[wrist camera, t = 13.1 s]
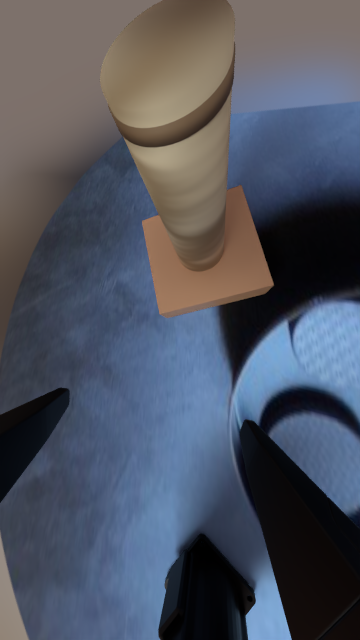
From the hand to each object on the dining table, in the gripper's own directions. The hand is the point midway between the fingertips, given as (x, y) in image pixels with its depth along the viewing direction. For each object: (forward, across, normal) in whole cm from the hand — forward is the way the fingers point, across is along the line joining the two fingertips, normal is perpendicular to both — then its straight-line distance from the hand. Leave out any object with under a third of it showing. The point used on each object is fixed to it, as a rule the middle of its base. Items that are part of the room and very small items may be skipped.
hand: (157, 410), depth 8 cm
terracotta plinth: (+16, -2, -8) cm, 18 cm away
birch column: (+13, -1, -10) cm, 16 cm away
